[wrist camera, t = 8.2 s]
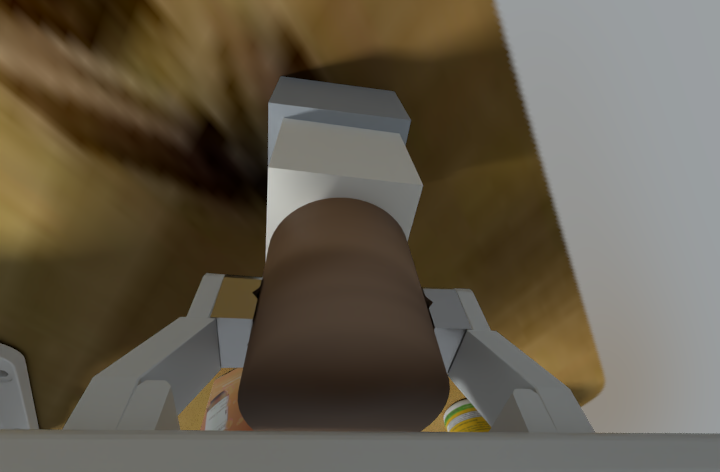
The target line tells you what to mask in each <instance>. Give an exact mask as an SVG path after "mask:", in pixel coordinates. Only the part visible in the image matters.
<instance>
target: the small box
mask: <svg viewBox="0 0 720 472" xmlns="http://www.w3.org/2000/svg"><path fill="white" fill-rule="evenodd" d="M242 371H243V368H236V369H234V370H232V371H231V372H229V373H227V374H225V375H222V376H220V377H219V378H217V379H216V380H215V381H214V384H213V387H212V391H211V394H210V398H209V401H208V405H207V408H206V412H205V415H204V419H203V422H202V426H201V429H200V430H214V431H254V430H253V429H252V428H251V427H250V426H249V425H248V424H247V423H246V421H245V420H244V419H243V417H242V415H241V413H240V410H239V406H238V390H239V385H240V380H241V376H242Z"/></svg>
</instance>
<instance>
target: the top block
mask: <svg viewBox="0 0 720 472" xmlns="http://www.w3.org/2000/svg"><path fill="white" fill-rule="evenodd" d="M422 188H423V184H422V182H421V180H420V177H419V175H418V173H417V171H416V169H415V166H414V164H413V162H412V160H411V158H410V155H409V153H408V151H407V149H406V147H405V145H404V142H403V140H402V138H401V136H400V134H399V133H392V132H385V131H378V130H370V129H363V128H356V127H348V126H341V125H333V124H326V123H319V122H311V121H304V120H297V119H289V118H283V121H282V124H281V127H280V130H279V134H278V137H277V140H276V143H275V147H274V150H273V153H272V156H271V160H270V163H269V166H268V189H267V224H266V257H267V253H268V248H269V244H270V240H271V237H272V235H273V233H274V231H275V230H276V228H277V227H278V225H279V224H280V223H281V222H282V221H283V219H284V218H286V217H287V216H288V215H289V214H290V213H292V212H293V211H295V210H296V209H298V208H299V207H302V206H304V205H306V204H308V203H311V202H314V201H317V200H322V199H327V198H337V197H338V198H353V199H359V200H362V201H366V202H369V203H371V204H374V205H376V206H378V207H380V208H381V209H383V210H385V211H386V212H387V213H389V214H390V215H391V216H392V217H393V218H394V219H395V220H396V221H397V222H398V224H399V225H400V226H401V228H402V230H403V232H404V234H405V236H406V239H407V241H408V238H409V234H410V231H411V227H412V224H413V220H414V216H415V213H416V209H417V206H418V202H419V199H420V195H421V191H422ZM265 262H266V259H265Z"/></svg>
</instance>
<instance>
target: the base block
mask: <svg viewBox="0 0 720 472" xmlns="http://www.w3.org/2000/svg"><path fill="white" fill-rule="evenodd" d="M283 118H289V119H297V120H304V121H311V122H319V123H326V124H333V125H341V126H348V127H356V128H363V129H370V130H378V131H385V132H392V133H399V134H400V136H401V138H402V140H403V142H404V145H405V146H406V141H407V137H408V132H409V127H410V123H411V119H410V118H409V116H408V114H407V112H406V111H405V109H404V107H403V105H402V104H401V102H400V100H399V99H398V97H397V95H396V93H395V92H394V91H388V90H380V89H373V88H365V87H358V86H350V85H343V84H335V83H328V82H320V81H313V80H305V79H298V78H290V77H283V76H281V77H280V79H279V81H278V83H277V85H276V87H275V90H274V92H273V94H272V96H271V98H270V100H269V103H268V166H269V163H270V160H271V156H272V153H273V150H274V147H275V143H276V140H277V137H278V134H279V130H280V127H281V124H282V121H283Z"/></svg>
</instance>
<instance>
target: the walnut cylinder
mask: <svg viewBox="0 0 720 472" xmlns="http://www.w3.org/2000/svg"><path fill="white" fill-rule="evenodd" d="M262 277H263V281H262V285H261V290H260V293H259V297H258V304H257V309H256V314H255V318H254V323H253V326H252V330H251V333H250V338H249V343H248V347H247V352H246V357H245V361H244V366H243V371H242V376H241V380H240V385H239V390H238V406H239V410H240V413H241V415H242V417H243V419H244V420H245V421H246V423H247V424H248V425H249V426H250V427H251V428H252V429H253V430H254V431H360V432H420V431H422V430H423V429H424V428H426V427H427V426H428V425H430V424H431V423H432V422H433V421H434V420H435V419H436V418H437V417H438V415H439V414H440V413H441V412H442V410H443V408H444V406H445V405H446V402H447V399H448V397H449V390H450V386H449V378H448V375H447V372H446V368H445V365H444V362H443V358H442V355H441V352H440V349H439V345H438V342H437V339H436V335H435V332H434V329H433V325H432V322H431V319H430V315H429V312H428V309H427V305H426V302H425V299H424V295H423V292H422V289H421V285H420V282H419V279H418V275H417V272H416V269H415V266H414V262H413V259H412V256H411V252H410V249H409V246H408V242H407V239H406V236H405V234H404V232H403V230H402V228H401V226H400V225H399V224H398V222H397V221H396V220H395V219H394V218H393V217H392V216H391V215H390V214H389V213H387V212H386V211H385V210H383V209H381V208H380V207H378V206H376V205H374V204H371V203H369V202H366V201H362V200H359V199H353V198H338V197H337V198H327V199H322V200H317V201H314V202H311V203H308V204H306V205H304V206H302V207H299V208H298V209H296V210H295V211H293V212H292V213H290V214H289V215H288V216H287V217H286V218H284V219H283V221H282V222H281V223H280V224H279V225H278V227H277V228H276V230H275V231H274V233H273V235H272V237H271V240H270V244H269V248H268V253H267V257H266V262H265V267H264V271H263V276H262Z"/></svg>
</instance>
